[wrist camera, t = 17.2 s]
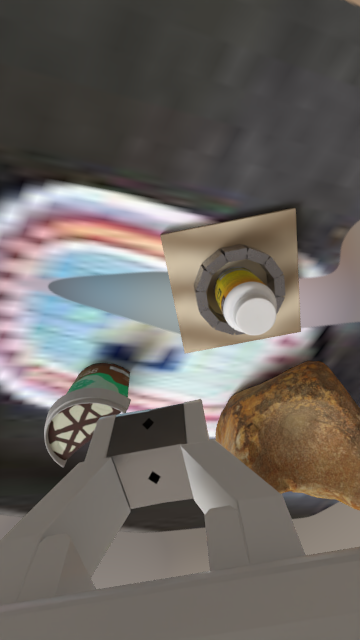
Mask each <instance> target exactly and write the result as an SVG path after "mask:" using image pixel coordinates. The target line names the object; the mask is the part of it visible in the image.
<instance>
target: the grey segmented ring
mask: <svg viewBox="0 0 360 640" xmlns="http://www.w3.org/2000/svg"><path fill="white" fill-rule="evenodd" d="M220 250H221V252H220V251H219V249H218V250H217V251H215V252H214V253H213V254H212V255H211V256H210V257H208V258H207V259H206V260H205V261H204V262H202V263H203V265H204V266H203V265H200V268H199V271H198V273H197V276H196V279H195V282H194V291H195V296H196V302H197V306H198V310H199V312H200V315H201V316H202V317H203V318H204V319H205V320H206V321H207V322H208V323H209V324H210V326H211V327H212V328H214V329H215V330H218V331H221V332H225V333H228V334H231V335H234V333H235V335H240V334H245V333H244V332H239V331H237V330H235V329H233V328H232V327H231V326H230V325H229V324H228V323H227V321H226V319H225V318H224V315H222V314H219V313H216V312H215V311H214V310H213V309H212V307H211V306H210V305H209V304H208V301H207V295H206V291H207V288H208V286H209V283H210V281H211V278H212V276H213V274H214V273H216V272H217V271H218V270H219V269H220V268H222V267H223V266H224V265H225V264H226V263H228V262H233V261H238V260H243V259H248V260H251V261H254V262H257V263H259V264H260V265H261V267H262V268H263V269H264V271H265V272H266V277H267V287H269V288H270V289H271V291H272V292H273V294H274V295H275V298H276V302H277V309H276V314H277V313H278V311H279V309H280V307H281V305H282V303H283V301H284V299H285V297H283V296H285V280H284V275H283V272H282V271H281V269H280V268H279V266H278V265H277V264H276V262H275V261H274V260H273V258H272V257H271V256H269V255H268V254H266V253H264V252H263V251H260V250H258V249H255V248H252V247H249V246H247V245H244V244H243V245H241V244H239V245H233V246H228V247H223V248H220Z"/></svg>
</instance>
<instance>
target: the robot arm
mask: <svg viewBox="0 0 360 640" xmlns="http://www.w3.org/2000/svg"><path fill="white" fill-rule="evenodd" d="M192 498H194V501H195V502H196V503H197V505H198V506H199V507H200V509H201V510H202V511H203V513H204V514H205V526H206V535H207V546H208V556H209V565H210V571H208V572H202V573H196V574H190V575H184V576H178V577H171V578H165V579H159V580H153V581H146V582H140V583H134V584H128V585H122V586H115V587H109V588H103V589H96V588H95V586H94V584H93V582H92V580H91V577H92V575H93V574H94V572H95V570H96V569H97V566H98V565H99V563H100V562H101V560H102V558H103V557H104V555H105V553H106V551H107V550H108V548H109V547H110V545H111V543H112V541H113V540H114V538H115V536H116V535H117V533H118V532H119V530H120V528H121V526H122V525H123V523H124V521H125V520H126V518H127V516H128V515H129V513H130V509H133V508H138V507H143V506H148V505H153V504H158V503H164V502H171V501H178V500H185V499H192ZM0 640H360V547H355V548H349V549H343V550H337V551H331V552H324V553H318V554H313V555H305V553H304V550H303V548H302V545H301V543H300V540H299V537H298V535H297V532H296V530H295V527H294V524H293V522H292V519H291V517H290V514H289V511H288V509H287V506H286V504H285V501H284V499H283V496H282V495H281V494H280V493H279V492H278V491H277V490H275V489H274V488H273V487H272V486H270V485H269V484H268V483H267V482H266V481H264V480H263V479H262V478H261V477H259V476H258V475H257V474H256V473H255V472H253V471H252V470H251V469H250V468H249V467H247V466H246V465H245V464H244V463H242V462H241V461H240V460H239V459H238V458H236V457H235V456H234V455H233V454H231V453H230V452H229V451H228V450H227V449H225V448H224V447H223V446H222V445H220V444H219V443H218V442H217V441H216V440H214V439H211V440H209V435H208V430H207V425H206V420H205V415H204V409H203V404H202V400H201V399H199V400H194V401H189V402H185V403H183V404H177V405H172V406H167V407H161V408H156V409H148V410H142V411H136V412H129V413H123V414H117V415H111V416H106V417H101V418H99V419H98V421H97V424H96V427H95V430H94V433H93V436H92V440H91V443H90V446H89V449H88V452H87V455H86V459H85V462H81V463H78V464H77V465H76V466H75V467H74V468H73V469H72V470H71V471H70V472H69V473H68V474H67V475H66V476H65V477H64V478H63V479H62V480H61V481H60V482H59V483H58V484H57V485H56V486H55V487H54V488H53V489H52V490H51V491H50V492H49V493H48V494H47V495H46V496H45V497H44V498H43V499H42V500H41V501H40V502H39V503H38V504H37V505H36V506H35V507H34V508H33V509H32V510H31V511H30V512H29V513H28V514H27V515H26V516H25V517H24V518H22V520H20V521H19V522H18V523H17V524H16V525H15V526H14V527H13V528H12V529H11V530H10V531H9V532H8V533H7V534H6V535H5V536H4V537H3V538H2V539H1V540H0Z"/></svg>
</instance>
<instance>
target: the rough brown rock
mask: <svg viewBox="0 0 360 640" xmlns="http://www.w3.org/2000/svg"><path fill="white" fill-rule="evenodd" d="M216 441H217V442H218V443H219V444H220V445H222V446H223V447H224V448H225V449H227V450H228V451H229V452H230V453H231V454H233V455H234V456H235V457H236V458H238V459H239V460H240V461H241V462H242V463H244V464H245V465H246V466H247V467H249V468H250V469H251V470H252V471H253V472H255V473H256V474H257V475H258V476H259V477H261V478H262V479H263V480H264V481H266V482H267V483H268V484H269V485H270V486H272V487H273V488H274V489H275V490H277V491H278V492H279V493H280V494H282V493H284V492H288V491H292V492H298V493H305V494H308V495H311V496H314V497H318V498H328V499H336V500H339V501H340V502H342V503H344V504H346V505H348V506H350V507H352V508H354V509H357V510H360V408H359V407H358V405H357V404H356V403H355V401H354V400H353V399H352V398H351V396H350V395H349V393H348V392H347V391H346V389H345V388H344V386H343V385H342V384H341V382H340V381H339V380H338V379H337V378H336V376H335V375H334V373H333V372H332V371H331V370H330V369H329V368H328V366H327V365H325V364H324V363H322V362H320V361H317V362H316V361H306V362H304V363H302V364H299V365H297V366H295V367H293V368H291V369H289V370H287V371H285V372H283V373H282V374H280V375H278V376H277V377H274V378H272V379H270V380H268V381H266V382H264V383H262V384H259V385H256V386H254V387H251V388H248V389H245V390H243V391H240V392H239V393H237V394H235V395H233V396H232V397H231V398H230V399H229V401H228V403H227V405H226V407H225V408H224V410H223V411H222V413H221V415H220V418H219V421H218V424H217V428H216Z"/></svg>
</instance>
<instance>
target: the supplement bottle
mask: <svg viewBox="0 0 360 640" xmlns="http://www.w3.org/2000/svg"><path fill="white" fill-rule="evenodd" d="M214 295H215V298H216V300H217V302H218V304H219V307H220V309H221V311H222V313H223V315H224V318H225V319H226V321H227V323H228V324H229V325H230V326H231V327H232V328H233V329H235V330H237V331H239V332H244V333H245V334H248V335H260V334H263V333H265V332H267V331H268V330H269V329H270V328H271V327H272V326H273V325H274V323H275V320H276V315H277V314H276V309H277V302H276V298H275V295H274V294H273V292H272V291H271V289H270V288H269V287H267V286H266V285H265V284H264V283H263V282H262V281H261V280H260V279H259V278H258V277H257V276H256V275H254V274H253V273H252V272H251V271H250V270H248V269H246V268H244V267H238V266H236V267H231V268H228V269H226V270H224V271H223V272H222V273H221V274H220V275H219V276H218V277H217V279H216V281H215V284H214Z"/></svg>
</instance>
